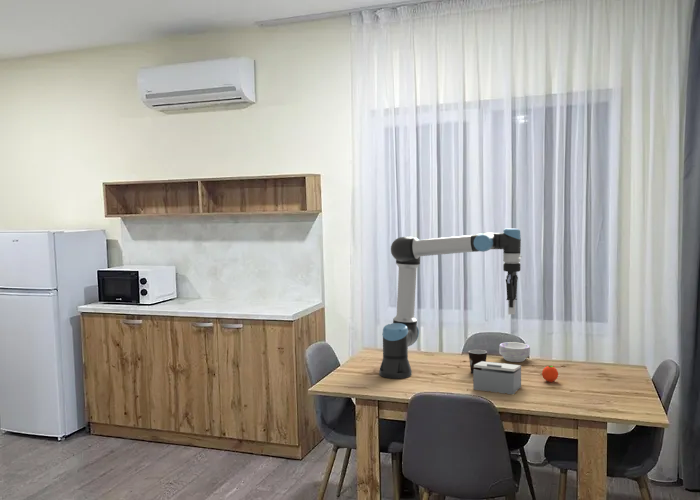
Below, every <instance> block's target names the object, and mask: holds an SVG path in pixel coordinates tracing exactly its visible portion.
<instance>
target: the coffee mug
mask: <svg viewBox="0 0 700 500" xmlns="http://www.w3.org/2000/svg"><path fill="white" fill-rule="evenodd" d="M487 355H488V351H487V350H484V349H483V350H482V349H471V350H468V358H469V368H470V373H471V374H473V370H474V369H476V370H482V368H477V367H474V365H475V364H477V363H479V362H481V361H486V362H487Z"/></svg>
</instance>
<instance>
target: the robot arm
mask: <svg viewBox="0 0 700 500" xmlns="http://www.w3.org/2000/svg"><path fill="white" fill-rule="evenodd" d="M521 237H522V236H521V230H520V229H519V228H504V229H503V232H479V233H477V234H470V235H469V234H468V235H457V236H456V235H455V236H449V237H448V236H447V237H436V238H424V239H419V238H418V237H416V236H412V235H411V236H410V235H406V236H401V237H397V238H396V239H394V240H393V242H392V243H391V246H390V254H391V256H392V257H393V258H394V259H395V264H396V265H397V267H398V279H397V297H396V300H397V301H396V316H394V317H393V318H392V319H393V320H392V322H391V323H388V324H386V325H384V326H383V329H382V335H381V336H382V360H381V364H380V367H379V372H378V373H379V376H380V377H382V378H386V379H405V378H410V377H412V367H411V365H410V361H409V353H408V352H409V351H408V350H409V349H408V347H410V346H412V345H414V343H416V341H418V339H419V335H420V330H419V327H418V325H417V324H418V320H417V318H416V316H415V308H416V288H417V287H416V286H417V268H418V267H419V266H421V257H427V256H438V255H439V256H440V255H451V254H453V255H454V254H461V253H462V254H463V253H474V252H475V253H476V252H487V251H490V250H503V255H502V256H503V262H504V263H503V265H502V269H503V272H507V275H506V279H505V284H506V298H505V299H506V301H507V302H508V309H507V313H508V315H513V316H515V315H516V301H517V300H518V297H517V289H518V280H519V277H518V275H517V272H520V271H521V258H522V257H523V256H522V255H521V247H522V246H521V244H522V243H521V241H522V239H521Z"/></svg>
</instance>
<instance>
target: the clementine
mask: <svg viewBox="0 0 700 500" xmlns="http://www.w3.org/2000/svg"><path fill="white" fill-rule="evenodd" d="M541 376H542V378H543V379H544V380H545V381H546V382H550V383H552V382H555V381H556V380H557V379H558V378H559V371H558V369H557V368H556V367H555V366H554V365H547V366H545V367H544V368H543V369H542V371H541Z"/></svg>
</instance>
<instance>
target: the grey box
mask: <svg viewBox="0 0 700 500" xmlns="http://www.w3.org/2000/svg"><path fill="white" fill-rule="evenodd" d="M483 362H487V360H486V361H483ZM492 362H493V363H497V362H494V361H492ZM501 363H502V364H506V363H504V362H501ZM511 364H512V365H516V364H513V363H511ZM472 375H473V380H472V381H473V382H472V383H473V385H472V386H473V387H472V388H473V390H475V391H483V392H489V391H491V392H490V393H497V392H499V393H498V394H505V393H507V394H506V395H513V394H514V395H515V394H516V393H517V392H518V390H519V389H521V387H522V367H521V368H519V369H518V370H516V371H514V372H513V371H504V370H495V369H486V368H482V370H476V369H474V370H473V373H472ZM516 391H517V392H516ZM515 392H516V393H515Z"/></svg>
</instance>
